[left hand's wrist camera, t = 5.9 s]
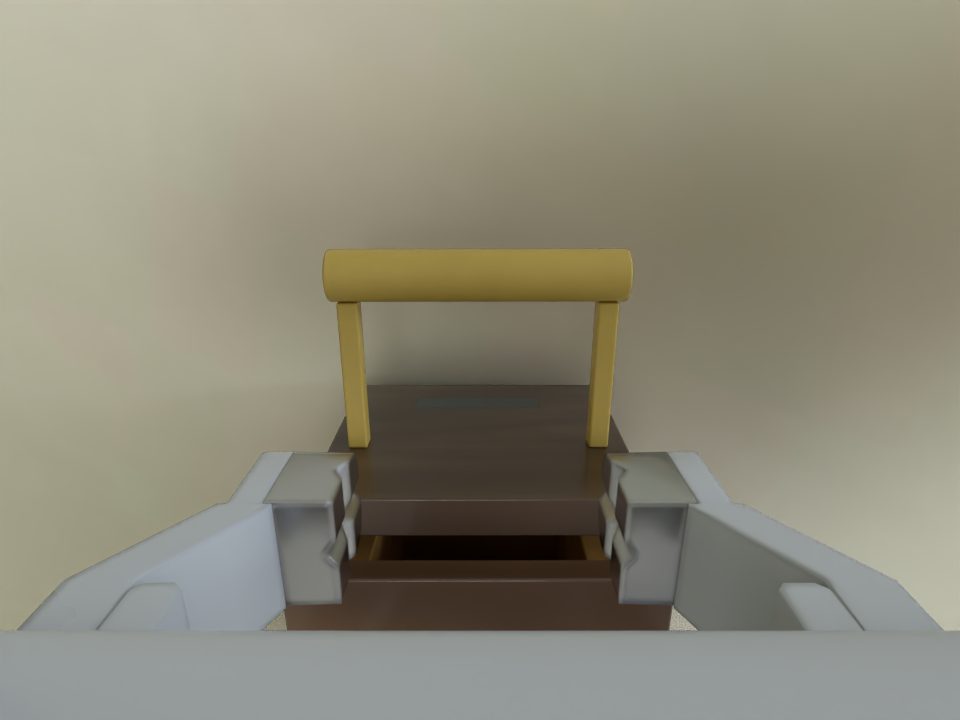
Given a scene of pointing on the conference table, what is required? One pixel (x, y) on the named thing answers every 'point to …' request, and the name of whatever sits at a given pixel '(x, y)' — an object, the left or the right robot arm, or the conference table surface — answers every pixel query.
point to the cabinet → (479, 598)
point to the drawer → (478, 413)
